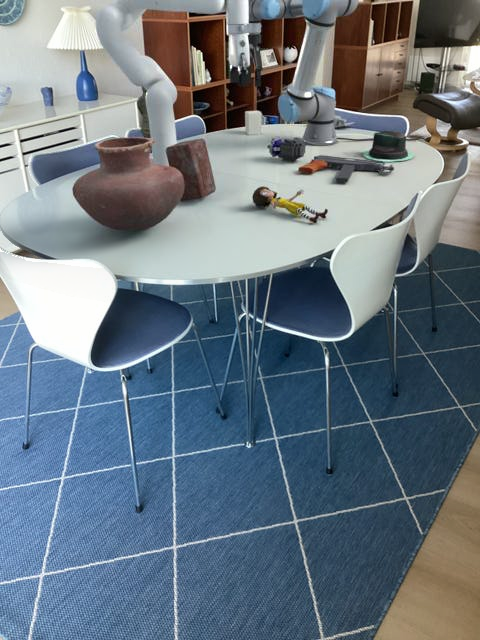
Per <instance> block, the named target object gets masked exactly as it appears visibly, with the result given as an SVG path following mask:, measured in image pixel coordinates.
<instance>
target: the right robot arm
mask: <svg viewBox="0 0 480 640" xmlns="http://www.w3.org/2000/svg"><path fill="white" fill-rule="evenodd" d="M248 1H249V23H248V24H249V35H248V42H249V56H250V65H249V67H248V69H247V71H248V73H247V74H248V84H252V68H253V66H254V70H253V72H254V88H259V87H261V86H262V73H261V72H262V71H263V70H264V67H263V60H262V54H261V53H262V52H261V46H258V45H259V44H262V34H261V32H262V27H263V25H262V20H266V21H267V20H268V21H269V20H277V19H297V18H300V17H304V20H305V22H306V27H305V32H304V35H303V39H302V43H301V48H300V51H299V54H298V59H297V63H296V68H295V71H294V75H293V79H292V82H291V83H290V84H288V85H287V88H286V92H285V93H282V94H281V95H280V96H279V97H278V101H277V108H278V109H277V110H278V113H279V115H280V117H281V118H282V120H283V121H284V122H286V123H297V122H302V121H303V122H304V121H306V127H305V130H304V133H303V136H302V142H304V145H311V146H330V145H334V144H336V143H337V141H338V140H342V141H354V142H362V141H373V138H374V137H371V138H370V137H369V138H350V137H349V138H347V137H338V136H337V133H336V129H335V128H334V115H335V112H334V109H335V110H336V106H335V101H336V91H335V89H334V88H331V87H324V86H314V83H315V80H316V77H317V73H318V70H319V66H320V62H321V59H322V55H323V51H324V48H325V44H326V42H327V38H328V37H327V36H328V33H329V30H330V29H332V28H333V27H334V26H335V23H336V20H337V18H341V17H346V16H349V15H351V14H352V13H354V12H355V11H356V9H357V8H358V6H359V2H360V0H248ZM252 62H253V66H252ZM417 140H423V141H427V139H426V138H425V137H424V136H418V137H415V138H406V142H407V141H409V142H410V141H417Z"/></svg>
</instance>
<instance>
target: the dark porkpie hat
mask: <svg viewBox="0 0 480 640" xmlns="http://www.w3.org/2000/svg"><path fill="white" fill-rule="evenodd" d="M372 138H373V140H372V145H371V148H370V149H369V150H368V151H365V152H363V154H362V155H363V157H364V158H366V159H367V160H372V161H379V162H385V163H386V162H391V163H392V162H393V163H394V162H403V161H408V160H410V159H412V158H414V154H413V153H412V152H411V151H408V149H407V147H406V145H407V144H406V143H407V140H406V139H407V136H406V135H405V134H404V133H403V132H401V131H396V130H383V131H382V130H381V131H377V132H374V133H373V137H372Z"/></svg>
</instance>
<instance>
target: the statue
mask: <svg viewBox="0 0 480 640" xmlns="http://www.w3.org/2000/svg"><path fill="white" fill-rule="evenodd" d="M140 87H141V90H142V94H141V96H139V97H138V99H137V100H136V106H137V110H138V111H139V113H140V115H141V117H142V118H141V126H140V133H141V135H142V136H143V138H151V135H150V126H149V118H148V112H147V107H146V93H147V90H146V89H145V88H144V87H143V86H140ZM150 152H152V146H151V148H150Z"/></svg>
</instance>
